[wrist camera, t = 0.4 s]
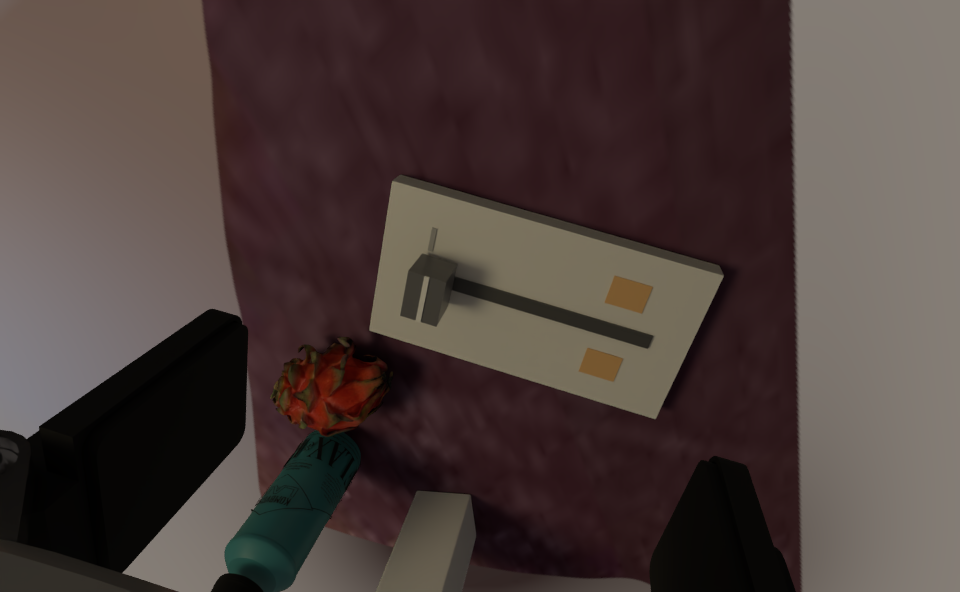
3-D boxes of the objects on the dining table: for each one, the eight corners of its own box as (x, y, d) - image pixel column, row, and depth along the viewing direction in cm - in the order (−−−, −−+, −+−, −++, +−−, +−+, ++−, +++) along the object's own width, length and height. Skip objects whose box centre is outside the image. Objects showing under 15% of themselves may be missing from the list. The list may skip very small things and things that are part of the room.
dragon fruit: (294, 358, 59) (405, 336, 57) (301, 443, 57) (417, 423, 55) (245, 349, 50) (373, 322, 49) (252, 447, 48) (385, 424, 47)
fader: (422, 253, 46) (407, 271, 43) (457, 263, 46) (446, 282, 42) (413, 296, 48) (399, 316, 44) (448, 306, 47) (436, 327, 44)
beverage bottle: (380, 455, 60) (284, 638, 42) (333, 472, 62) (224, 651, 45) (345, 408, 58) (229, 578, 40) (298, 427, 60) (169, 596, 43)
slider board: (400, 174, 46) (391, 181, 44) (719, 265, 44) (724, 276, 42) (377, 320, 52) (368, 331, 51) (653, 405, 50) (655, 420, 48)
